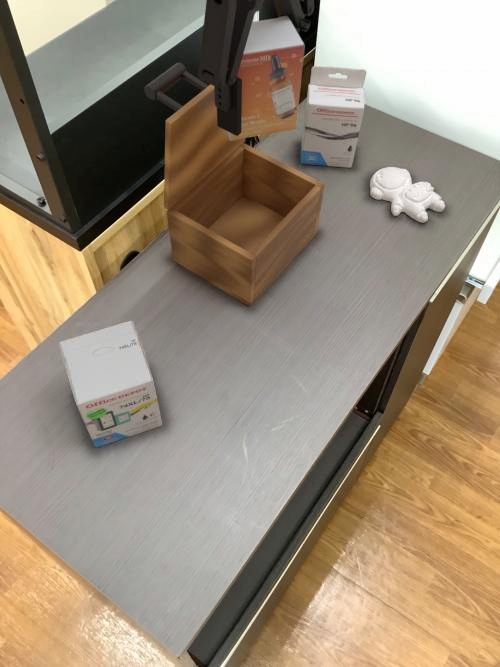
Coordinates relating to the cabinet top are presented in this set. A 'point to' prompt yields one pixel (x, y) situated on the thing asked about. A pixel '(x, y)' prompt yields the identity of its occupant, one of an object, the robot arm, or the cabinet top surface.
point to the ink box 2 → (332, 116)
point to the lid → (189, 135)
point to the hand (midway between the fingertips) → (256, 105)
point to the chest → (245, 222)
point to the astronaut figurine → (405, 193)
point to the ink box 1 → (111, 383)
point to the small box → (270, 78)
